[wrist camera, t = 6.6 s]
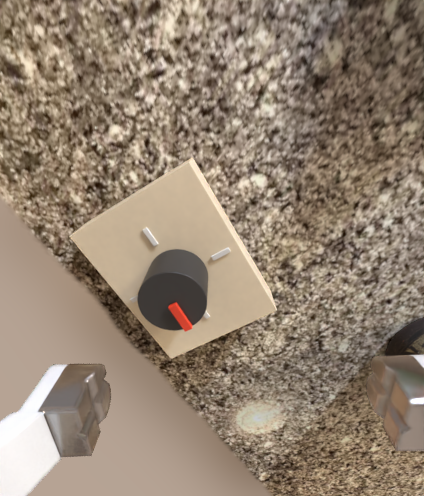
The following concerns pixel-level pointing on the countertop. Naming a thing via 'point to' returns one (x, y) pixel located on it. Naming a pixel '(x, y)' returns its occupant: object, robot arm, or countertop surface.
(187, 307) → the timer knob
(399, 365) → the robot arm
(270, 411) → the countertop surface
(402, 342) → the container
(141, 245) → the panel
